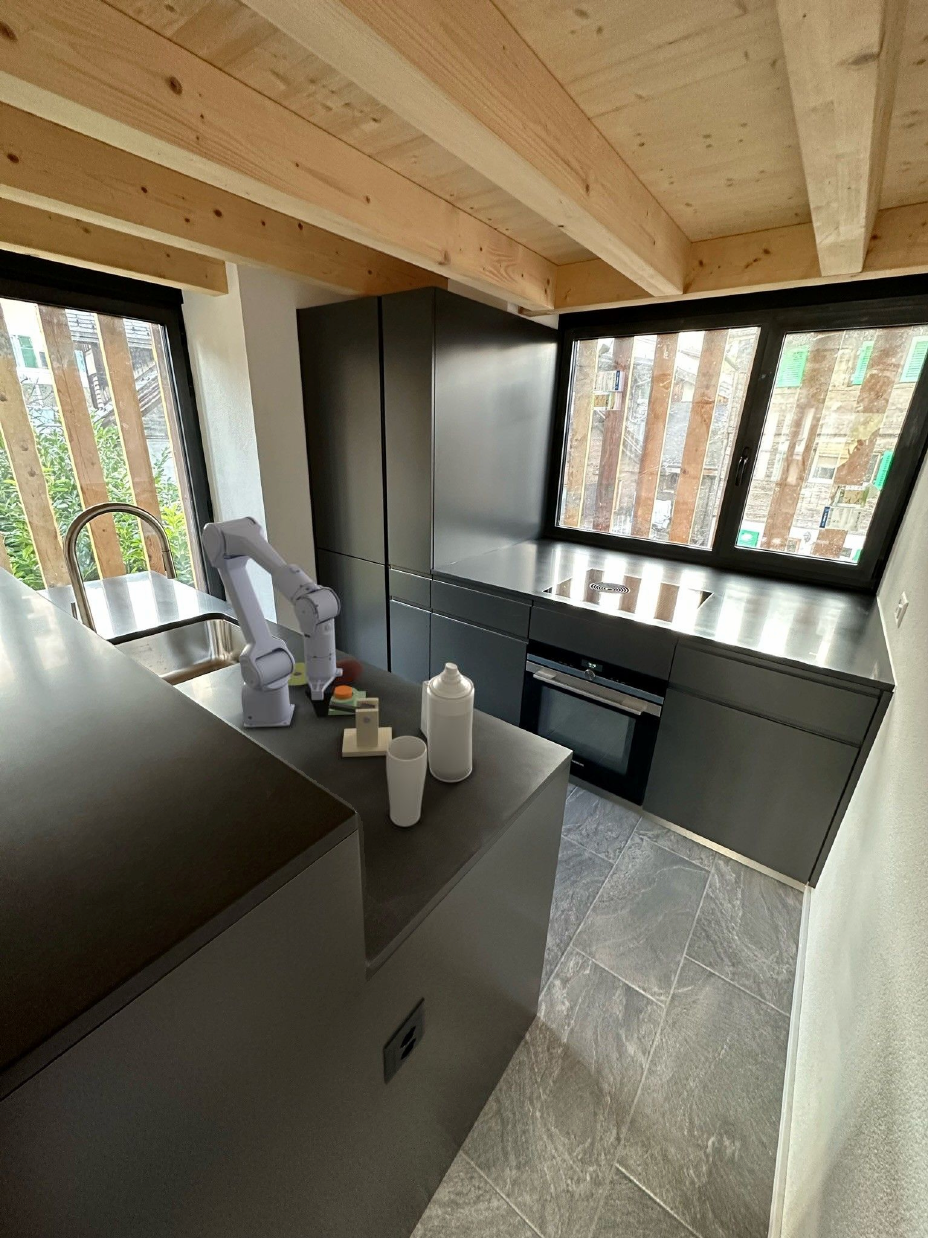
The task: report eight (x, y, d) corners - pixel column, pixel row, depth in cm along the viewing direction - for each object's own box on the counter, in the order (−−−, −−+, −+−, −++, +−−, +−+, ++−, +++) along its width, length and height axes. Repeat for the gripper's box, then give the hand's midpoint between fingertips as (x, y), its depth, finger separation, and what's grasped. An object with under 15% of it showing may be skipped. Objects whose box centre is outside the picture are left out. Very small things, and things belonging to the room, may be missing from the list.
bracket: (342, 757, 104) (340, 716, 100) (344, 733, 111) (343, 694, 107) (392, 755, 106) (392, 715, 102) (391, 731, 113) (391, 693, 109)
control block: (319, 715, 117) (319, 704, 115) (323, 696, 124) (322, 685, 123) (364, 714, 118) (364, 703, 117) (365, 695, 125) (365, 684, 124)
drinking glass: (418, 835, 87) (421, 764, 81) (380, 827, 88) (380, 756, 82) (428, 806, 93) (432, 739, 87) (393, 799, 94) (393, 732, 88)
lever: (312, 713, 102) (315, 700, 101) (314, 704, 105) (317, 691, 103) (372, 724, 105) (375, 711, 104) (372, 715, 108) (376, 702, 106)
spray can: (484, 786, 99) (495, 673, 89) (431, 797, 95) (436, 681, 85) (463, 749, 109) (471, 644, 99) (414, 758, 105) (417, 650, 95)
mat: (314, 665, 137) (314, 659, 136) (326, 685, 128) (326, 679, 127) (270, 674, 132) (269, 667, 131) (279, 695, 123) (279, 688, 122)
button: (333, 700, 118) (333, 694, 117) (335, 691, 121) (334, 685, 121) (351, 700, 118) (351, 694, 118) (352, 690, 122) (352, 685, 121)
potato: (320, 686, 128) (319, 664, 125) (350, 670, 136) (349, 650, 133) (341, 696, 124) (340, 674, 122) (370, 679, 132) (370, 658, 130)
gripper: (338, 669, 92) (341, 731, 98) (343, 634, 105) (345, 691, 111) (297, 670, 91) (302, 733, 97) (308, 634, 104) (312, 692, 110)
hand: (323, 711), depth 104 cm, fingers closed on lever, 3 cm apart
